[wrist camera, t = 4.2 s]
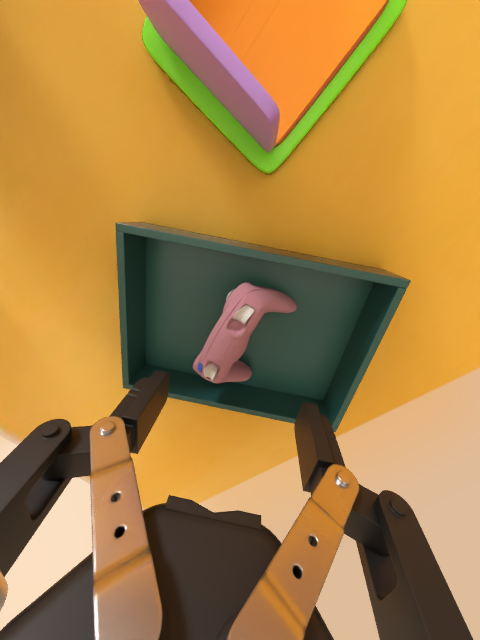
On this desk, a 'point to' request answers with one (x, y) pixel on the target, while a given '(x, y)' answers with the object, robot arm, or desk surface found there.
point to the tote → (270, 333)
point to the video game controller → (238, 332)
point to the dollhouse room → (264, 62)
